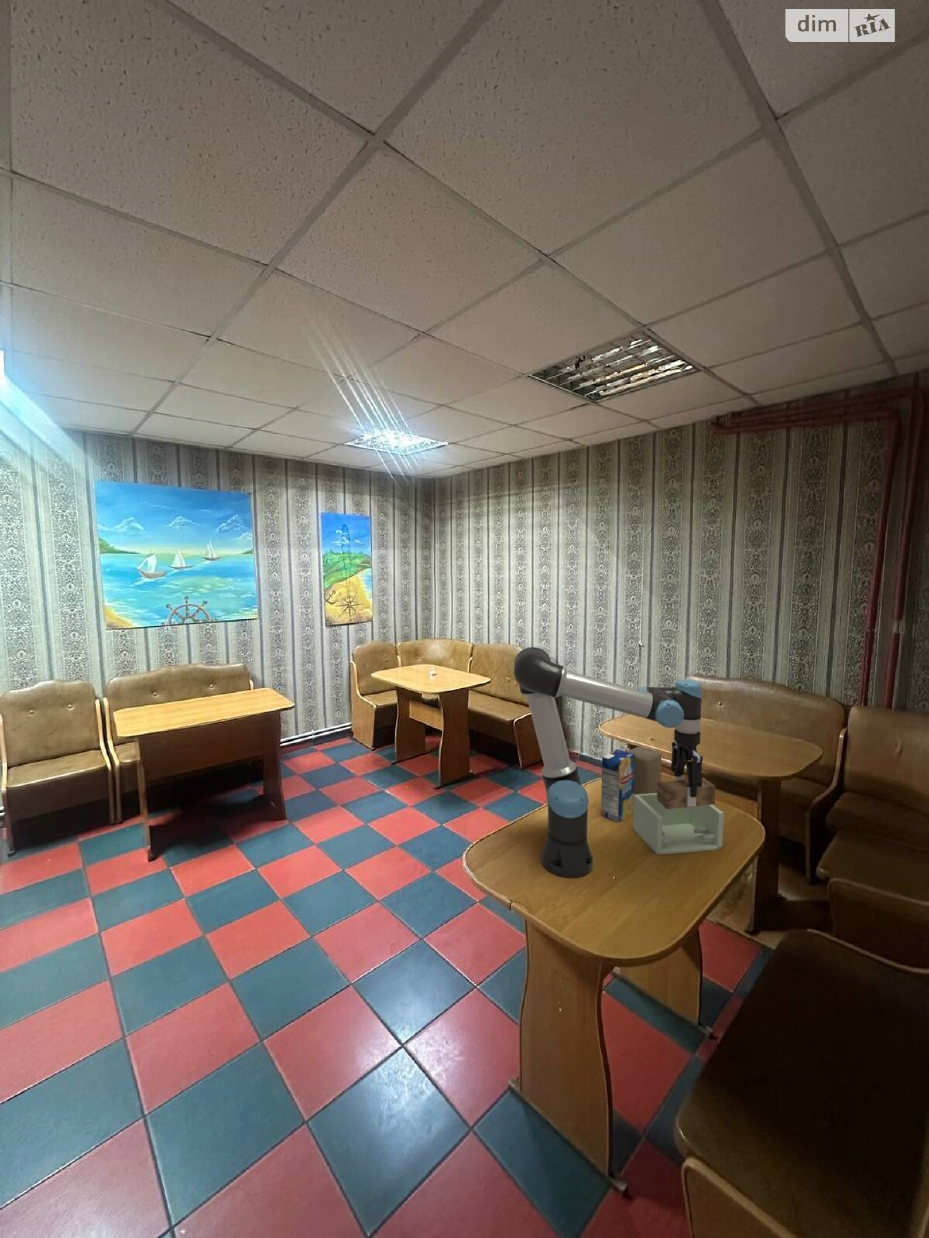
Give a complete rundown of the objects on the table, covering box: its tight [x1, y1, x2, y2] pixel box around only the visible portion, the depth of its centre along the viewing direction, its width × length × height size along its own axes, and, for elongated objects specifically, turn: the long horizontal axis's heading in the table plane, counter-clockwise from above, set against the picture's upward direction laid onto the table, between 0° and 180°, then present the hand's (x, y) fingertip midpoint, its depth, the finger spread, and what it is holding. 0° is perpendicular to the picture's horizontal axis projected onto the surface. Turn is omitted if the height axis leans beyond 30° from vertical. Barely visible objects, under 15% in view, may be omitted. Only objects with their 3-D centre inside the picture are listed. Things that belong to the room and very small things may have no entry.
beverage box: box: [600, 749, 635, 824], centre depth 178 cm, size 7×11×22 cm, turn 134°
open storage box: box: [632, 793, 725, 856], centre depth 163 cm, size 22×16×12 cm
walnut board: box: [657, 777, 716, 809], centre depth 157 cm, size 16×6×6 cm, turn 97°
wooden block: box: [626, 746, 662, 795], centre depth 187 cm, size 10×10×20 cm
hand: (685, 800), depth 157 cm, fingers closed on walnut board, 6 cm apart
